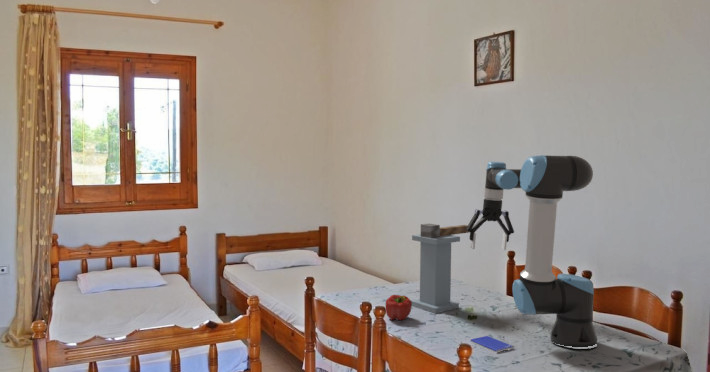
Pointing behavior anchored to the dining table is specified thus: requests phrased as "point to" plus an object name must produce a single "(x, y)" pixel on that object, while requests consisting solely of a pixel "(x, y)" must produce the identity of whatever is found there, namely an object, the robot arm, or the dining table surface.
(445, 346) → the dining table surface
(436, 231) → the mallet
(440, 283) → the stand
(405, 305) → the vegetable
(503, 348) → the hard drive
